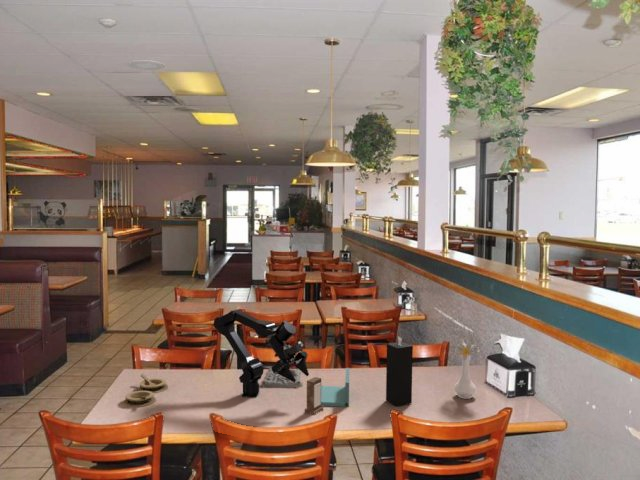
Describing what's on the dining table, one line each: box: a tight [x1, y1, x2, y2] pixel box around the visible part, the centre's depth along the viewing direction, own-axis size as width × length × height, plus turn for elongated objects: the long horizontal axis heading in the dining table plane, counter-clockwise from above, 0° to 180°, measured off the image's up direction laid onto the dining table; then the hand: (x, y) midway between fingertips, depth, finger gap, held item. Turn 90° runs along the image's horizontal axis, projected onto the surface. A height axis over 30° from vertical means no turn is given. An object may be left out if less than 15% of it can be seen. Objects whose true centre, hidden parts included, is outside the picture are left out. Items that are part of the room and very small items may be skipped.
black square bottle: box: [385, 335, 414, 407], centre depth 231 cm, size 8×8×28 cm
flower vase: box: [449, 338, 483, 400], centre depth 239 cm, size 13×18×25 cm
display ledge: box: [321, 367, 350, 408], centre depth 236 cm, size 16×20×10 cm
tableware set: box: [122, 373, 169, 409], centre depth 238 cm, size 30×20×6 cm, turn 179°
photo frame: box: [304, 376, 324, 415], centre depth 221 cm, size 5×6×13 cm
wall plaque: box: [260, 367, 304, 389], centre depth 261 cm, size 24×19×4 cm
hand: (301, 378), depth 224 cm, fingers open, 9 cm apart
